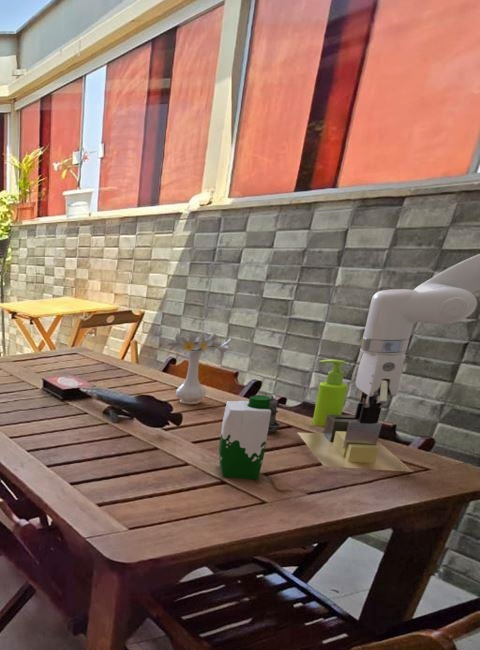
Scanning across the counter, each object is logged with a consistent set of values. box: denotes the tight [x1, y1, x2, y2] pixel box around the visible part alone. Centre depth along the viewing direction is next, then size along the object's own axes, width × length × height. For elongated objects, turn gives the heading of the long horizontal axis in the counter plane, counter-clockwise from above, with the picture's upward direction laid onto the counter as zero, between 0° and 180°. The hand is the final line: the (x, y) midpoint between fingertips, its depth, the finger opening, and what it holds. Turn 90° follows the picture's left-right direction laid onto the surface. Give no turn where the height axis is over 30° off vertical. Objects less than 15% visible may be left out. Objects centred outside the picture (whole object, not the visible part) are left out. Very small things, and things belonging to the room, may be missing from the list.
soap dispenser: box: [311, 358, 349, 428], centre depth 141 cm, size 6×7×20 cm
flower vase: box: [167, 331, 232, 405], centre depth 173 cm, size 13×18×25 cm
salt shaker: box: [268, 395, 281, 434], centre depth 141 cm, size 6×6×12 cm
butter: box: [333, 431, 347, 457], centre depth 125 cm, size 5×8×4 cm, turn 154°
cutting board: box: [297, 432, 414, 473], centre depth 127 cm, size 16×24×1 cm, turn 154°
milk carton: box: [218, 394, 271, 481], centre depth 121 cm, size 9×9×20 cm
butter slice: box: [345, 444, 379, 463], centre depth 120 cm, size 5×2×4 cm, turn 64°
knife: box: [343, 398, 383, 448], centre depth 119 cm, size 6×2×13 cm, turn 64°
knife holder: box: [322, 414, 380, 442], centre depth 131 cm, size 9×6×6 cm, turn 64°
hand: (365, 420), depth 118 cm, fingers closed on knife, 2 cm apart
